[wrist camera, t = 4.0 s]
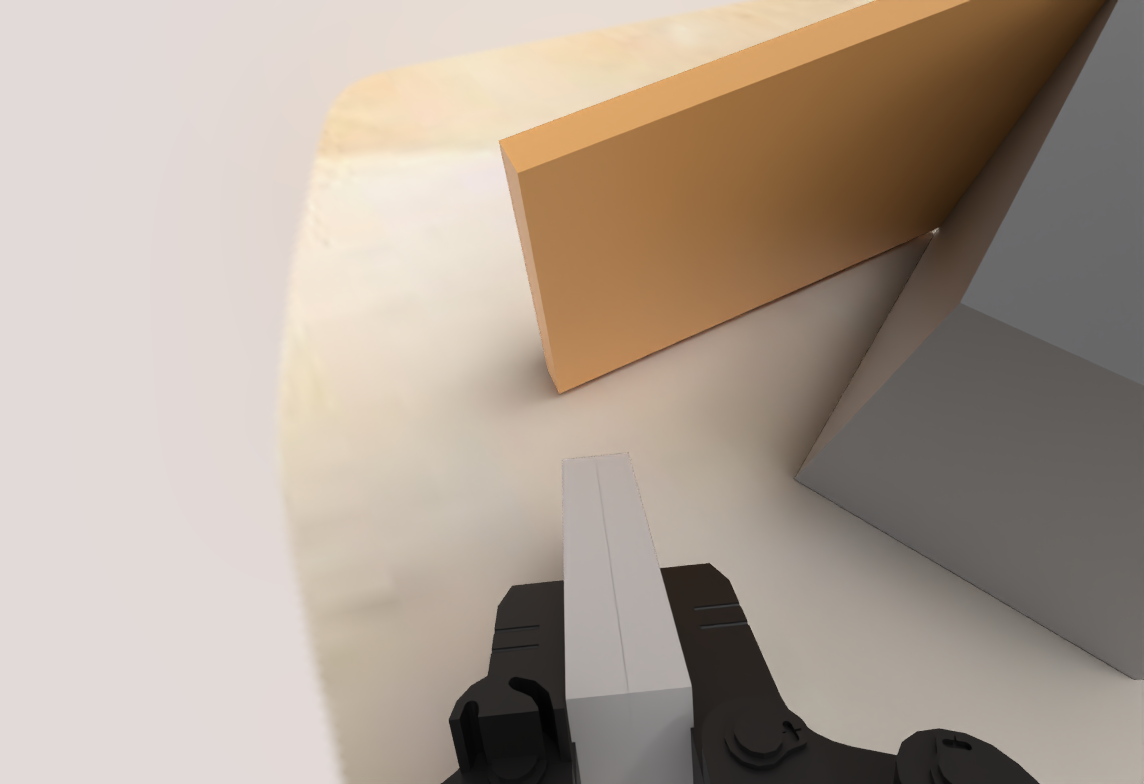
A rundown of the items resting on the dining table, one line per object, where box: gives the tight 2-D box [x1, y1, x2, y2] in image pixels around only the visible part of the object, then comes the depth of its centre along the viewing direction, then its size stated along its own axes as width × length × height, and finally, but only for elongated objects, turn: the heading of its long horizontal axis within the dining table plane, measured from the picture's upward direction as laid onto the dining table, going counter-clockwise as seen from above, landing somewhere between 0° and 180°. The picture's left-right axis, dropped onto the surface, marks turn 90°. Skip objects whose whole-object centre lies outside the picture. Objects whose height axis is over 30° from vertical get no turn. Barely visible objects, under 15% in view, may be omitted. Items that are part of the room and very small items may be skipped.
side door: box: [499, 0, 1106, 394], centre depth 17 cm, size 16×2×10 cm, turn 114°
